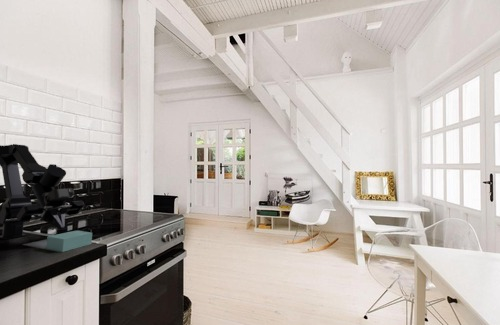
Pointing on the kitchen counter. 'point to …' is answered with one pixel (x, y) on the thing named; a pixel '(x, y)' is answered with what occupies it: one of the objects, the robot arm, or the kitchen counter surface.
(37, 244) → the slate mat
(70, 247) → the teal block
